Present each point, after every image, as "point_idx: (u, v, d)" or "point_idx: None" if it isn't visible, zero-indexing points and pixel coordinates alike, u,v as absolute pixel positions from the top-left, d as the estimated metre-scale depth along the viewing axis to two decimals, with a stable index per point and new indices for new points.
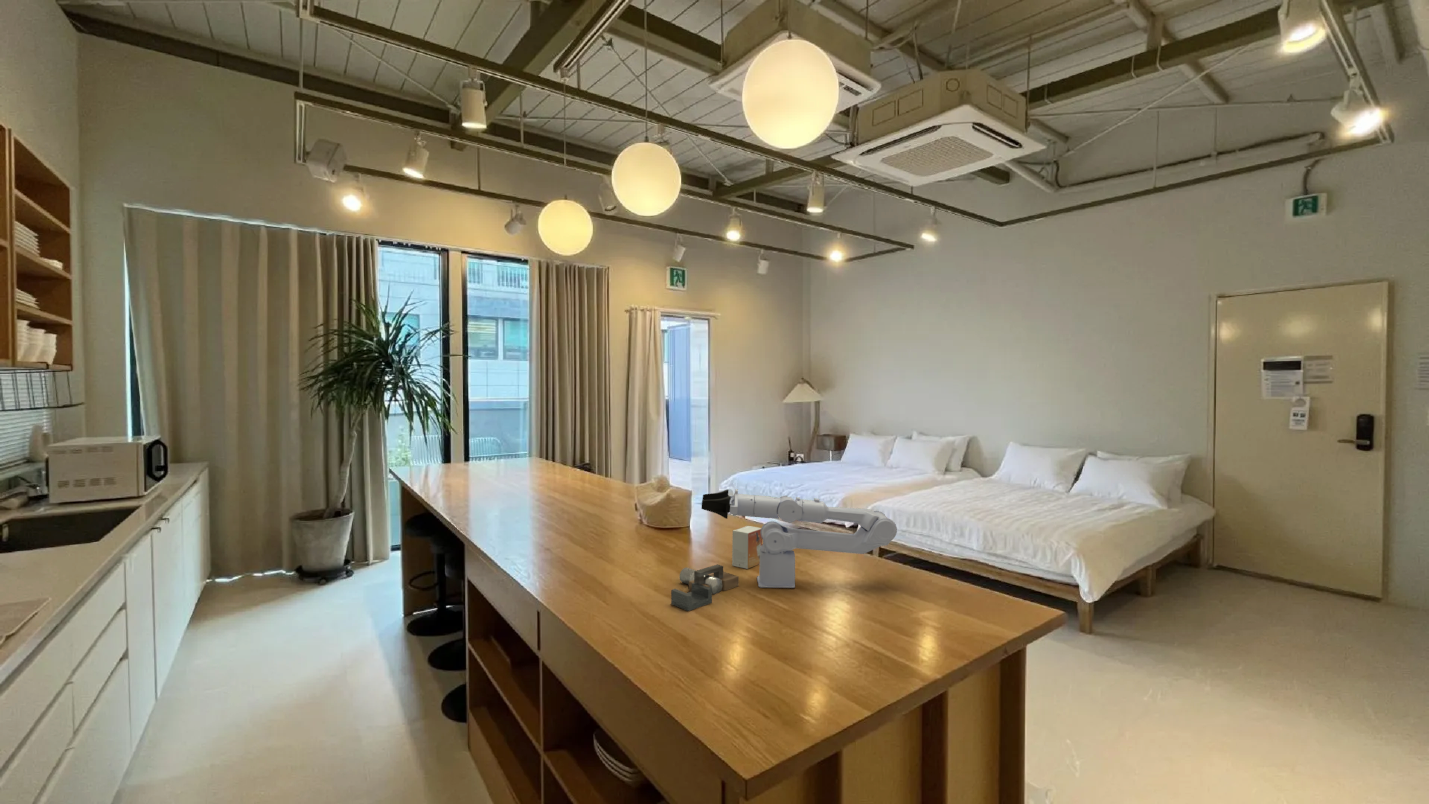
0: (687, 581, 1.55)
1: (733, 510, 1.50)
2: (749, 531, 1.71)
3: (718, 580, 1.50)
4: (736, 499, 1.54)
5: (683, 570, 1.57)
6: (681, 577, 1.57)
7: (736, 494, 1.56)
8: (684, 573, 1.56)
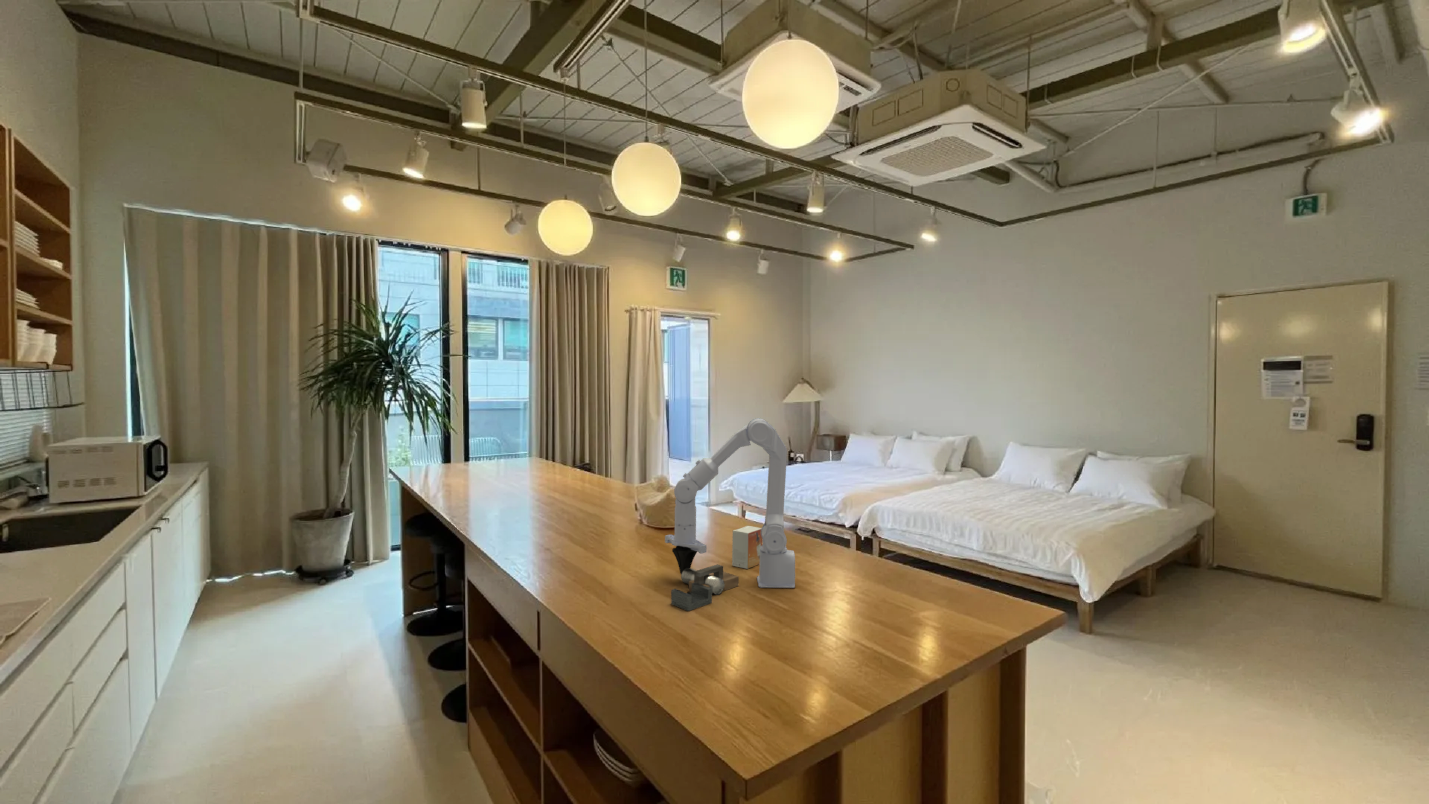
0: None
1: (703, 549, 1.54)
2: (749, 531, 1.71)
3: (719, 580, 1.49)
4: (687, 545, 1.55)
5: (684, 571, 1.56)
6: (683, 578, 1.56)
7: (680, 544, 1.56)
8: (685, 574, 1.55)
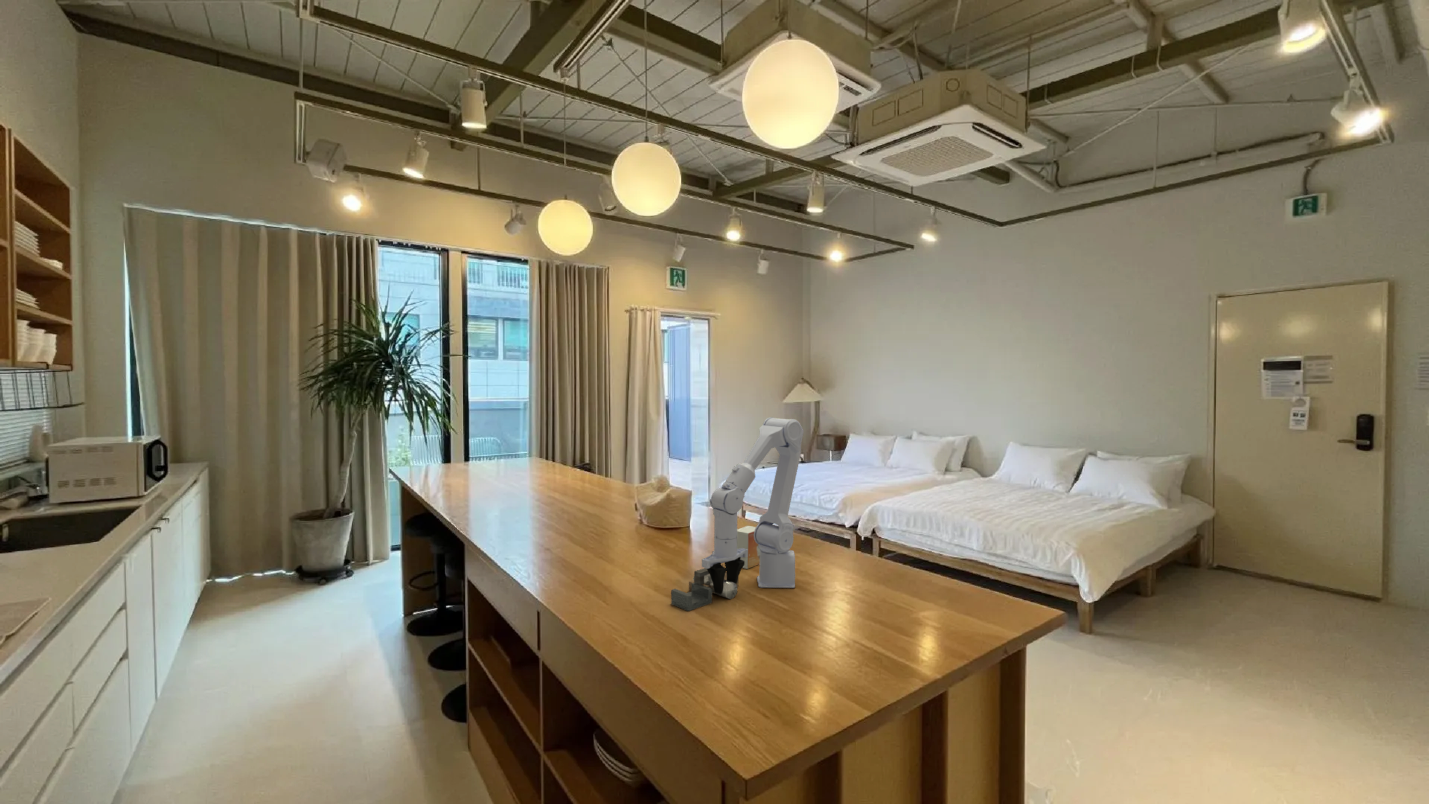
0: None
1: (704, 564, 1.43)
2: (749, 531, 1.71)
3: (733, 585, 1.47)
4: None
5: None
6: None
7: None
8: None
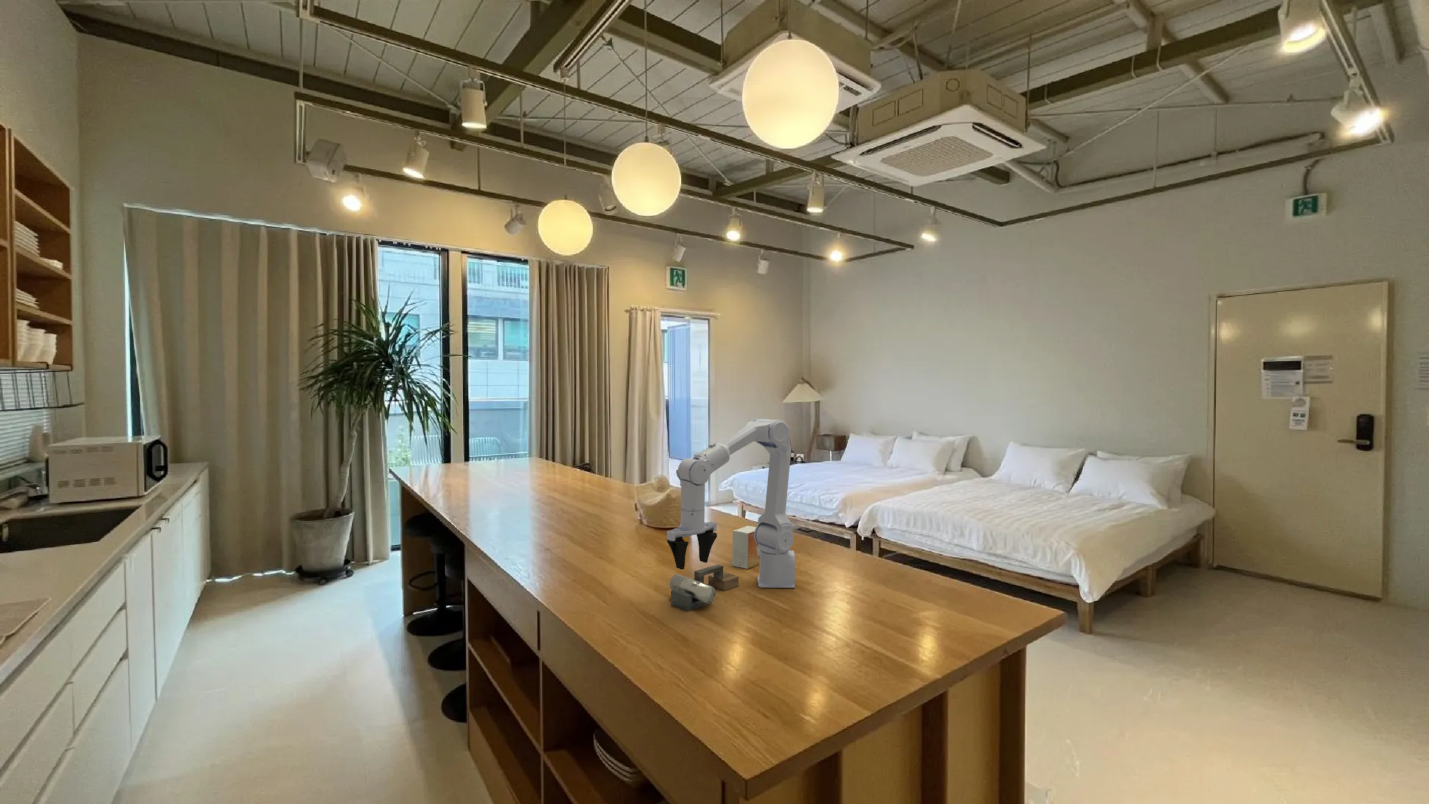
0: (677, 586, 1.44)
1: (669, 536, 1.37)
2: (749, 531, 1.71)
3: (712, 589, 1.40)
4: None
5: (675, 575, 1.47)
6: (672, 582, 1.46)
7: (680, 527, 1.44)
8: (676, 578, 1.46)
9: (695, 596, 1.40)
